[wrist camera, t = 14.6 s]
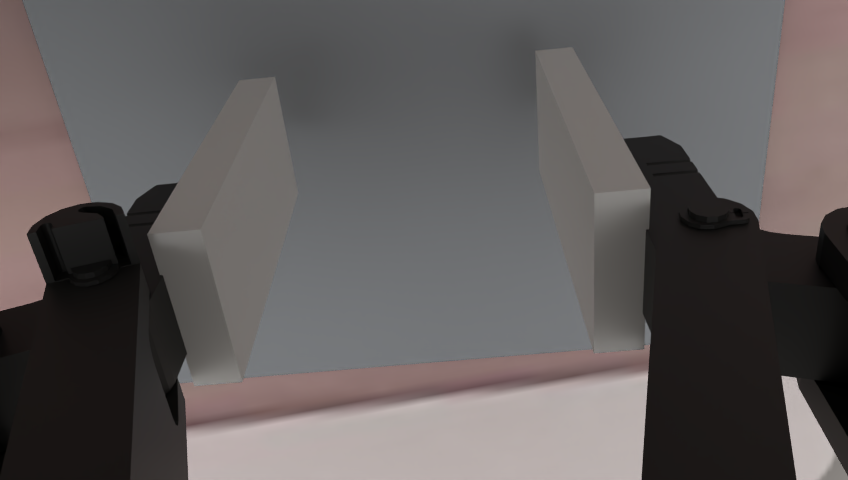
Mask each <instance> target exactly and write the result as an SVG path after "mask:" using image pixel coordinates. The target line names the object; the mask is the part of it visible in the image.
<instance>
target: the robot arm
mask: <svg viewBox="0 0 848 480" xmlns="http://www.w3.org/2000/svg"><path fill="white" fill-rule="evenodd" d="M535 57H536V87H537V117H538V146H539V171H540V175H541V178H542V181H543V185H544V188H545V191H546V195H547V198H548V201H549V205H550V208H551V211H552V215H553V218H554V221H555V225H556V228H557V232H558V235H559V238H560V242H561V245H562V248H563V252H564V255H565V258H566V262H567V265H568V268H569V272H570V275H571V278H572V282H573V285H574V288H575V292H576V295H577V298H578V302H579V305H580V309H581V312H582V315H583V319H584V322H585V325H586V329H587V332H588V335H589V339H590V342H591V345H592V349H593V352H594V353H603V352H615V351H627V350H640V349H644V338H645V320H646V322H647V325H648V327H649V330H650V332H651V341H650V357H649V372H648V388H647V403H646V419H645V435H644V450H643V466H642V480H796V473H795V467H794V460H793V453H792V446H791V439H790V432H789V426H788V419H787V412H786V405H785V398H784V391H783V385H782V378H781V376H789V377H796V378H797V382H798V386H799V389H800V391H801V393H802V394H803V396H804V398H805V400H806V402H807V403H808V405H809V407H810V409H811V410H812V412H813V414H814V416H815V418H816V419H817V421H818V423H819V425H820V427H821V428H822V430H823V432H824V434H825V436H826V437H827V439H828V441H829V443H830V445H831V446H832V448H833V450H834V452H835V454H836V455H837V457H838V459H839V461H840V462H841V464H842V466H843V468H844V469H845V471H846V473H847V475H848V207H846V208H840V209H837V210H835V211H833V212H831V213H829V214H827V215H825V217H824V219H823V221H822V223H821V227H820V233H819V237H815V236H802V235H789V234H780V233H773V232H768V231H764V230H760V228H759V221H758V218H757V217H756V215H755V213H754V212H753V211H752V210H751V209H749V208H748V207H746V206H744V205H743V204H741V203H738V202H735V201H732V200H728V199H725V198H717V196H716V195H715V193H714V192H713V191H712V189H711V188H710V186H709V185H708V184H707V182H706V181H705V179H704V178H703V176H702V175H701V174H700V172H699V173H698V169H697V168H696V166H695V165H694V164H693V162H690V158H689V156H688V155H687V154H686V152H685V151H684V149H683V148H682V146H681V145H679V144H677V143H675V142H673V141H671V140H669V139H667V138H665V137H663V136H662V135H657V136H647V137H636V138H626V139H623V137H622V136H621V134H620V132H619V130H618V128H617V127H616V125H615V123H614V121H613V119H612V118H611V116H610V114H609V112H608V110H607V109H606V107H605V105H604V103H603V101H602V100H601V98H600V96H599V94H598V92H597V91H596V89H595V87H594V85H593V83H592V82H591V80H590V78H589V76H588V74H587V73H586V71H585V69H584V67H583V66H582V64H581V62H580V60H579V58H578V57H577V55H576V53H575V51H574V49H573V48H572V47H567V48H557V49H547V50H537V51H535ZM297 195H298V190H297V185H296V180H295V175H294V170H293V165H292V160H291V155H290V150H289V145H288V140H287V135H286V130H285V125H284V120H283V115H282V110H281V105H280V100H279V95H278V90H277V85H276V80H275V77H268V78H258V79H248V80H239V82H238V83H237V85H236V87H235V88H234V90H233V92H232V93H231V95H230V97H229V98H228V100H227V102H226V103H225V105H224V107H223V108H222V110H221V112H220V113H219V115H218V117H217V118H216V120H215V122H214V123H213V125H212V127H211V128H210V130H209V132H208V133H207V135H206V137H205V138H204V140H203V142H202V143H201V145H200V147H199V148H198V150H197V152H196V153H195V155H194V157H193V158H192V160H191V162H190V163H189V165H188V167H187V169H186V170H185V172H184V174H183V175H182V177H181V179H180V180H179V182H178V183H171V184H161V185H156V186H154V187H153V188H151V189H150V190H148V191H147V192H146V193H144V194H143V195H141V196H140V197H138V198H137V199H136V200H135V202H134V203H133V205H132V206H131V208H130V209H129V211H128V212H127V216H125V214H124V211H123V209H122V207H121V206H118V205H116V204H114V203H107V202H93V203H85V204H79V205H75V206H72V207H68V208H65V209H61V210H59V211H57V212H55V213H52V214H50V215H48V216H46V217H44V218H43V219H41V220H40V221H38V222H37V223H36V224H34V225H33V226H32V227H31V229H30V230H29V231H28V233H27V236H28V239H29V242H30V244H31V247H32V249H33V252H34V254H35V257H36V259H37V262H38V264H39V267H40V269H41V272H42V274H43V277H44V279H45V282H46V288H45V292H44V296H43V300H40V301H37V302H34V303H30V304H26V305H22V306H19V307H15V308H11V309H7V310H3V311H0V480H188V464H187V438H186V412H185V399H184V396H183V393H182V390H181V387H180V384H179V381H178V375H179V372H180V370H181V367H182V365H183V362H184V360H185V357H186V361H187V364H188V367H189V370H190V373H191V377H192V380H193V383H194V386H201V385H213V384H225V383H237V382H242V381H243V378H244V375H245V371H246V368H247V364H248V361H249V358H250V354H251V351H252V348H253V344H254V341H255V337H256V334H257V331H258V327H259V324H260V320H261V317H262V314H263V310H264V307H265V304H266V300H267V297H268V293H269V290H270V287H271V283H272V280H273V276H274V273H275V270H276V266H277V263H278V259H279V256H280V253H281V249H282V246H283V243H284V239H285V236H286V232H287V229H288V226H289V222H290V219H291V215H292V212H293V209H294V205H295V202H296V199H297Z"/></svg>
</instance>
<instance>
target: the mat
mask: <svg viewBox="0 0 848 480" xmlns="http://www.w3.org/2000/svg"><path fill="white" fill-rule="evenodd" d="M22 1H23V4H24V7H25V10H26V12H27V15H28V18H29V21H30V24H31V27H32V30H33V33H34V36H35V39H36V42H37V44H38V47H39V50H40V53H41V56H42V59H43V62H44V65H45V68H46V71H47V74H48V76H49V79H50V82H51V85H52V88H53V91H54V94H55V97H56V100H57V103H58V106H59V109H60V111H61V114H62V117H63V120H64V123H65V126H66V129H67V132H68V135H69V138H70V141H71V143H72V146H73V149H74V152H75V155H76V158H77V161H78V164H79V167H80V170H81V173H82V175H83V178H84V181H85V184H86V187H87V190H88V193H89V196H90V199H91V202H92V203H93V202H107V203H114V204H116V205H118V206H121V207H122V209H123V211H124V214H125V216H127V212H128V211H129V209H130V208H131V206H132V205H133V203H134V202H135V200H136V199H137V198H138V197H140V196H141V195H143V194H144V193H146V192H147V191H148V190H150V189H151V188H153V187H154V186H156V185H161V184H171V183H178V182H179V180H180V179H181V177H182V175H183V174H184V172H185V170H186V169H187V167H188V165H189V163H190V162H191V160H192V158H193V157H194V155H195V153H196V152H197V150H198V148H199V147H200V145H201V143H202V142H203V140H204V138H205V137H206V135H207V133H208V132H209V130H210V128H211V127H212V125H213V123H214V122H215V120H216V118H217V117H218V115H219V113H220V112H221V110H222V108H223V107H224V105H225V103H226V102H227V100H228V98H229V97H230V95H231V93H232V92H233V90H234V88H235V87H236V85H237V83H238V82H239V80H248V79H258V78H268V77H275V80H276V85H277V90H278V95H279V100H280V105H281V110H282V115H283V120H284V125H285V130H286V135H287V140H288V145H289V150H290V155H291V160H292V165H293V170H294V175H295V180H296V185H297V190H298V195H297V199H296V202H295V205H294V209H293V212H292V215H291V219H290V222H289V226H288V229H287V232H286V236H285V239H284V243H283V246H282V249H281V253H280V256H279V259H278V263H277V266H276V270H275V273H274V276H273V280H272V283H271V287H270V290H269V293H268V297H267V300H266V304H265V307H264V310H263V314H262V317H261V320H260V324H259V327H258V331H257V334H256V337H255V341H254V344H253V348H252V351H251V354H250V358H249V361H248V364H247V368H246V371H245V375H244V378H249V377H261V376H273V375H285V374H297V373H309V372H322V371H334V370H346V369H358V368H370V367H382V366H394V365H407V364H419V363H431V362H443V361H455V360H467V359H480V358H492V357H504V356H516V355H528V354H540V353H553V352H565V351H577V350H589V349H592V345H591V342H590V339H589V335H588V332H587V329H586V325H585V322H584V319H583V315H582V312H581V309H580V305H579V302H578V298H577V295H576V292H575V288H574V285H573V282H572V278H571V275H570V272H569V268H568V265H567V262H566V258H565V255H564V252H563V248H562V245H561V242H560V238H559V235H558V232H557V228H556V225H555V221H554V218H553V215H552V211H551V208H550V205H549V201H548V198H547V195H546V191H545V188H544V185H543V181H542V178H541V175H540V171H539V146H538V117H537V87H536V57H535V51H537V50H547V49H557V48H567V47H572V48H573V49H574V51H575V53H576V55H577V57H578V58H579V60H580V62H581V64H582V66H583V67H584V69H585V71H586V73H587V74H588V76H589V78H590V80H591V82H592V83H593V85H594V87H595V89H596V91H597V92H598V94H599V96H600V98H601V100H602V101H603V103H604V105H605V107H606V109H607V110H608V112H609V114H610V116H611V118H612V119H613V121H614V123H615V125H616V127H617V128H618V130H619V132H620V134H621V136H622V137H623V139H626V138H636V137H647V136H657V135H662V136H663V137H665V138H667V139H669V140H671V141H673V142H675V143H677V144H679V145H681V146H682V148H683V149H684V151H685V152H686V154H687V155H688V156H689V158H690V162H693V164H694V165H695V166H696V168H697V169H698V173H699V172H700V174H701V175H702V176H703V178H704V179H705V181H706V182H707V184H708V185H709V186H710V188H711V189H712V191H713V192H714V193H715V195H716V196H717V198H725V199H728V200H732V201H735V202H738V203H741V204H743V205H744V206H746V207H748V208H749V209H751V210H752V211H753V212H754V213H755V215H756V217H757V218H758V221H759V215H760V207H761V199H762V190H763V182H764V173H765V165H766V156H767V148H768V140H769V131H770V123H771V114H772V106H773V97H774V89H775V80H776V72H777V64H778V55H779V47H780V38H781V30H782V21H783V13H784V5H785V0H22ZM650 341H651V332H650V330H649V327H648V325H647V322H646V320H645V338H644V345H650ZM178 381H179V383H188V382H193V380H192V377H191V373H190V370H189V367H188V364H187V361H186V357H185V360H184V362H183V365H182V367H181V370H180V372H179V375H178Z"/></svg>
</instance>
